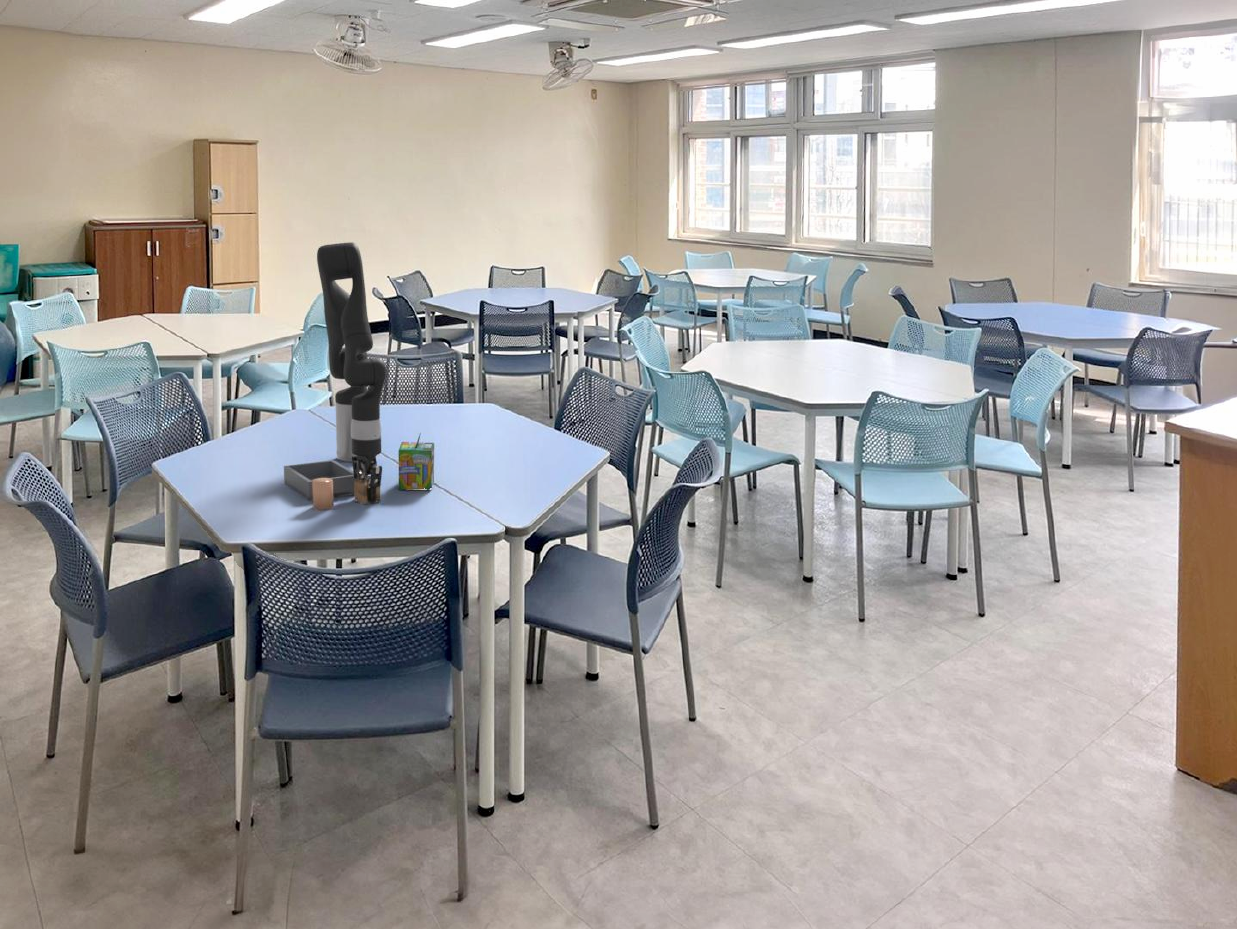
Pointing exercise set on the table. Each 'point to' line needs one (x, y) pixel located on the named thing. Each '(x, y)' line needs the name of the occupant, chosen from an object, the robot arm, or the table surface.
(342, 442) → the robot arm
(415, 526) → the table surface
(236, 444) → the table surface
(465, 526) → the table surface
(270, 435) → the table surface
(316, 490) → the terracotta cylinder
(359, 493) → the walnut cube
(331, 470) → the charcoal tote
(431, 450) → the juice box
